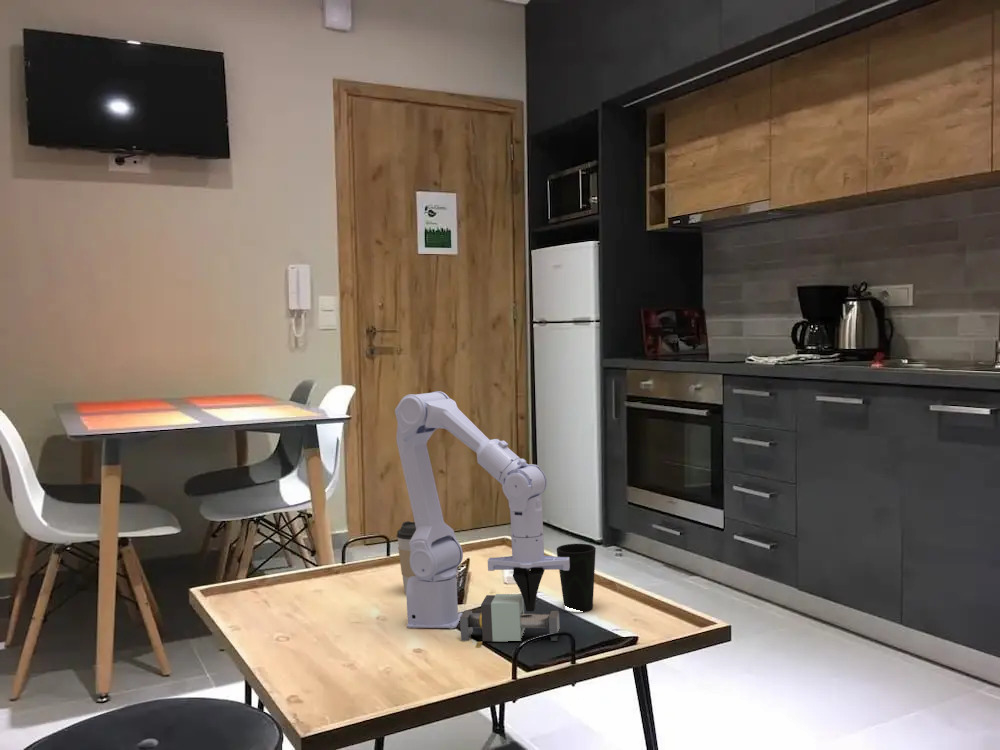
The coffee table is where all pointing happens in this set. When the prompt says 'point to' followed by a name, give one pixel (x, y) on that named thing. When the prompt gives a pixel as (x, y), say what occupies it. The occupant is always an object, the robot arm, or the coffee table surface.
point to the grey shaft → (527, 621)
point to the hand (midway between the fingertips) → (530, 609)
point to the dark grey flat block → (487, 618)
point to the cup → (578, 576)
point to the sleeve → (507, 617)
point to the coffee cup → (405, 550)
